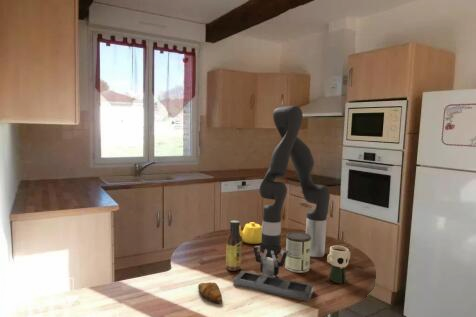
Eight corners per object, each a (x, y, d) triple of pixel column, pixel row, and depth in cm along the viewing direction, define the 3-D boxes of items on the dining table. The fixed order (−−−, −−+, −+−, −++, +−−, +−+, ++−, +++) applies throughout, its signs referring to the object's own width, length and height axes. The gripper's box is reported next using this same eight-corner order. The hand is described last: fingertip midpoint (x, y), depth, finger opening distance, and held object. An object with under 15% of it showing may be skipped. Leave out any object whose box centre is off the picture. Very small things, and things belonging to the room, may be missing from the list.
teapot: (234, 241, 174) (234, 222, 173) (250, 235, 184) (250, 217, 184) (255, 247, 165) (255, 228, 165) (270, 241, 176) (271, 222, 175)
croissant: (229, 301, 112) (229, 287, 112) (212, 307, 108) (212, 292, 107) (207, 286, 123) (208, 273, 122) (191, 291, 119) (191, 277, 118)
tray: (241, 276, 131) (241, 270, 131) (313, 291, 121) (313, 285, 121) (233, 285, 124) (233, 278, 124) (309, 301, 113) (309, 294, 113)
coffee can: (287, 261, 149) (288, 230, 148) (310, 265, 145) (312, 233, 144) (282, 270, 139) (284, 237, 138) (307, 274, 136) (309, 240, 135)
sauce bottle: (239, 272, 135) (240, 224, 134) (224, 270, 137) (225, 222, 135) (242, 266, 142) (243, 220, 140) (227, 264, 143) (229, 218, 141)
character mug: (332, 286, 125) (334, 253, 124) (320, 279, 132) (322, 246, 131) (354, 282, 130) (356, 250, 129) (342, 275, 136) (344, 244, 135)
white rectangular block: (265, 273, 135) (266, 256, 135) (276, 275, 133) (277, 258, 133) (262, 277, 131) (262, 260, 130) (273, 280, 129) (274, 262, 129)
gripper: (291, 232, 132) (289, 274, 133) (257, 226, 137) (255, 267, 138) (286, 237, 125) (284, 281, 126) (250, 231, 130) (249, 274, 131)
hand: (269, 273), depth 132 cm, fingers closed on white rectangular block, 4 cm apart
